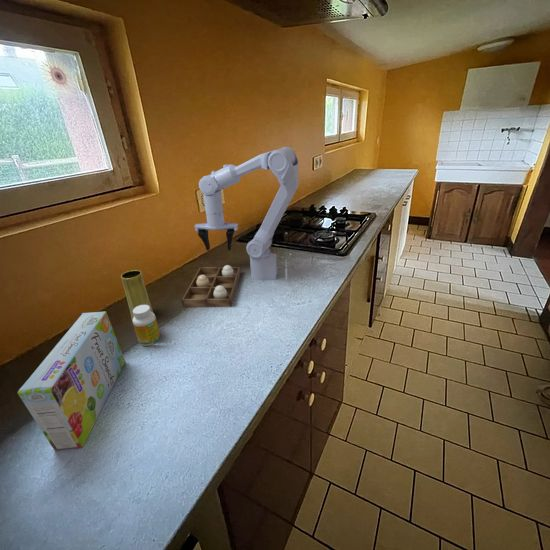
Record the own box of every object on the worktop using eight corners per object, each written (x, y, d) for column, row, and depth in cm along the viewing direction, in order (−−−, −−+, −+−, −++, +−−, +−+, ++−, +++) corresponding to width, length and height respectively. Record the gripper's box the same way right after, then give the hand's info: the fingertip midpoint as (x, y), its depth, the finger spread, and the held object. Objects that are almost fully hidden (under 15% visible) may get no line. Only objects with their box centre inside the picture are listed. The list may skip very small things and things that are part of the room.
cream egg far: (235, 275, 108) (234, 262, 106) (233, 281, 104) (232, 268, 102) (223, 275, 108) (222, 262, 106) (221, 281, 105) (219, 268, 102)
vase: (158, 313, 90) (148, 270, 83) (144, 325, 85) (131, 280, 78) (141, 309, 91) (130, 267, 85) (127, 321, 86) (113, 277, 80)
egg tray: (240, 275, 110) (240, 267, 108) (231, 308, 91) (230, 299, 89) (200, 275, 110) (199, 267, 109) (183, 309, 91) (181, 299, 90)
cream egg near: (228, 296, 96) (227, 282, 93) (226, 303, 92) (224, 289, 90) (215, 296, 96) (213, 282, 93) (213, 303, 92) (210, 289, 90)
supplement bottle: (153, 347, 76) (144, 316, 72) (134, 345, 77) (124, 314, 73) (164, 334, 81) (156, 303, 76) (146, 332, 82) (137, 302, 77)
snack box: (102, 364, 71) (81, 311, 64) (126, 362, 72) (108, 309, 65) (51, 452, 53) (14, 391, 46) (84, 448, 53) (52, 388, 46)
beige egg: (211, 285, 102) (209, 272, 100) (208, 291, 98) (206, 278, 96) (199, 285, 102) (197, 272, 100) (195, 291, 99) (193, 278, 96)
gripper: (237, 208, 105) (240, 244, 111) (196, 209, 105) (201, 245, 112) (234, 214, 98) (238, 252, 105) (190, 215, 99) (196, 252, 105)
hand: (219, 249), depth 108 cm, fingers open, 7 cm apart
